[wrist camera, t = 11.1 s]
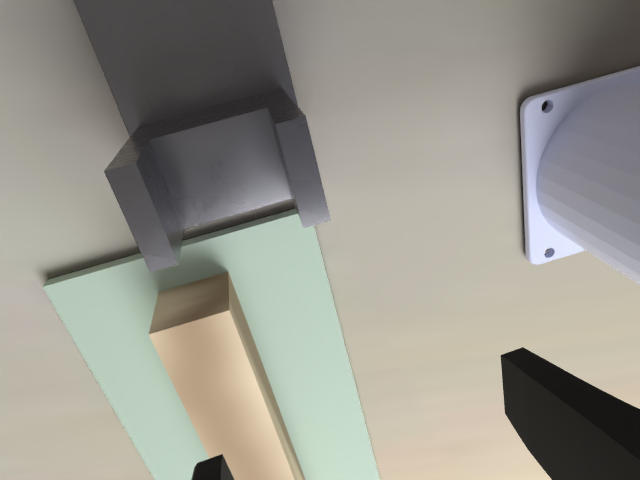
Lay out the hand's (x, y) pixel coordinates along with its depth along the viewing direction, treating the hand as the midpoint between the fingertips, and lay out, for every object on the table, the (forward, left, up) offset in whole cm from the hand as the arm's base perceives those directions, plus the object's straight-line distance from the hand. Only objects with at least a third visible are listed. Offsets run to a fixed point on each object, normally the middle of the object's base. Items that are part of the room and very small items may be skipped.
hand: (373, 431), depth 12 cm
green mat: (+5, +8, -10) cm, 14 cm away
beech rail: (+5, +8, -10) cm, 13 cm away
